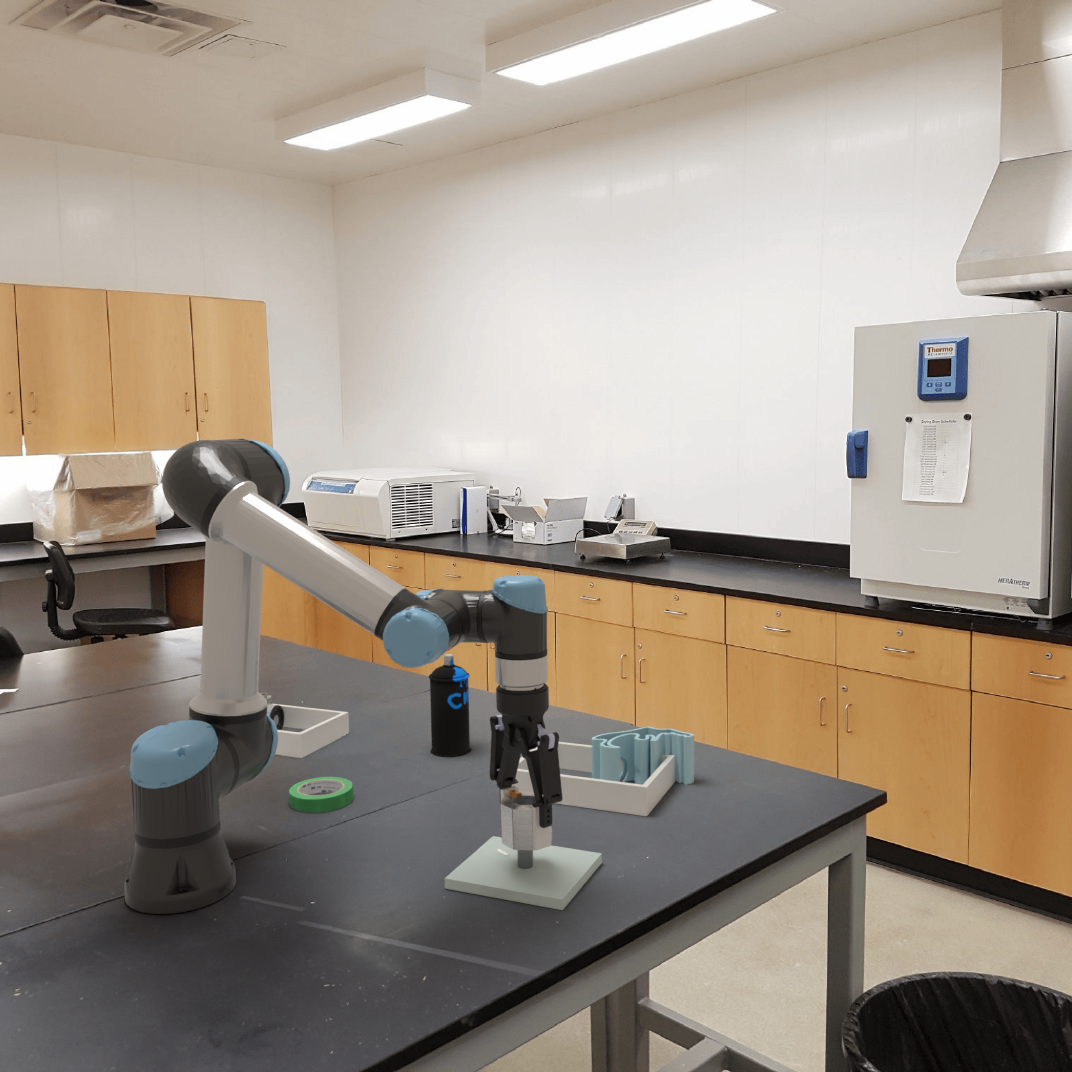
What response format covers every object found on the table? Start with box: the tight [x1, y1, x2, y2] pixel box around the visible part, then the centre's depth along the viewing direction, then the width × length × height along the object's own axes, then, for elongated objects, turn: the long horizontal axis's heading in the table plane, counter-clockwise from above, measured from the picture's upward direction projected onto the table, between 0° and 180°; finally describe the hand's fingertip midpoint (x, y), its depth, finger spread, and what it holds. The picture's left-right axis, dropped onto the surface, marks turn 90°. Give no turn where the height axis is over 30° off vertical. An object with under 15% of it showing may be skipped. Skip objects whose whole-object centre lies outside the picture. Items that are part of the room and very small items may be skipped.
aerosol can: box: [428, 653, 472, 758], centre depth 203 cm, size 8×8×20 cm
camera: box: [259, 692, 284, 730], centre depth 215 cm, size 16×9×10 cm, turn 167°
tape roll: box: [288, 776, 354, 814], centre depth 178 cm, size 11×11×3 cm
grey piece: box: [500, 789, 553, 851], centre depth 146 cm, size 7×7×7 cm
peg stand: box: [444, 835, 603, 911], centre depth 146 cm, size 16×18×10 cm
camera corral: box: [272, 703, 350, 759], centre depth 213 cm, size 17×24×5 cm
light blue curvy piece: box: [591, 725, 695, 786], centre depth 183 cm, size 18×10×9 cm, turn 120°
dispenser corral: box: [512, 741, 676, 817], centre depth 181 cm, size 18×26×5 cm
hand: (526, 838), depth 146 cm, fingers closed on grey piece, 7 cm apart
